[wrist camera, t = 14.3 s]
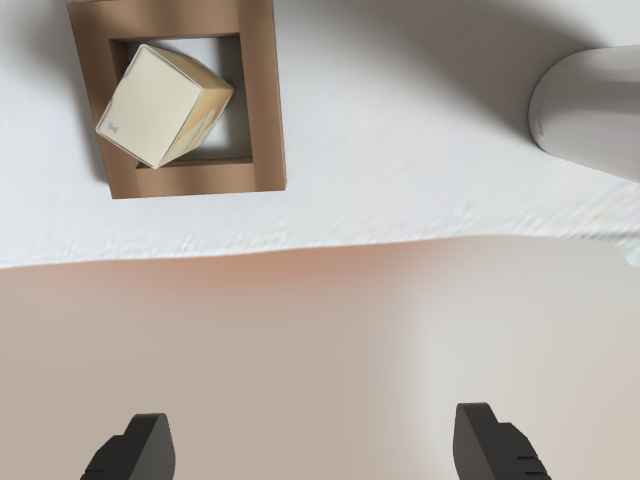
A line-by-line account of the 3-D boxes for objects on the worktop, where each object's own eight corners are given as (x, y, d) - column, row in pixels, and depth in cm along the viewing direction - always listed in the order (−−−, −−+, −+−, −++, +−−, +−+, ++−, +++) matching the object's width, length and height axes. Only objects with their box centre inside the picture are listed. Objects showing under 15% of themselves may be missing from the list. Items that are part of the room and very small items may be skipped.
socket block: (272, -1, 34) (269, -8, 31) (286, 182, 39) (284, 190, 36) (86, 9, 34) (66, 2, 31) (126, 190, 39) (112, 199, 36)
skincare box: (201, 147, 38) (154, 176, 26) (158, 117, 37) (89, 134, 25) (239, 86, 36) (206, 89, 24) (195, 53, 35) (139, 40, 23)
